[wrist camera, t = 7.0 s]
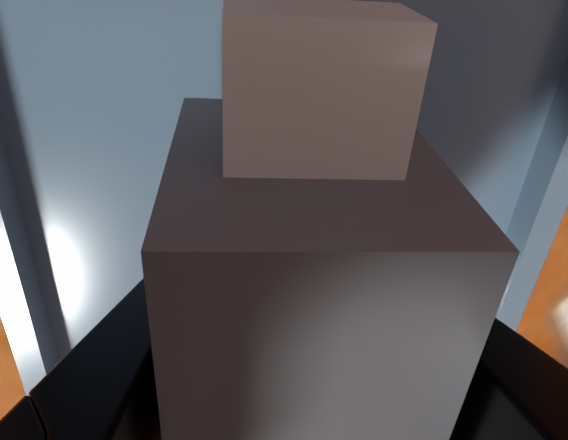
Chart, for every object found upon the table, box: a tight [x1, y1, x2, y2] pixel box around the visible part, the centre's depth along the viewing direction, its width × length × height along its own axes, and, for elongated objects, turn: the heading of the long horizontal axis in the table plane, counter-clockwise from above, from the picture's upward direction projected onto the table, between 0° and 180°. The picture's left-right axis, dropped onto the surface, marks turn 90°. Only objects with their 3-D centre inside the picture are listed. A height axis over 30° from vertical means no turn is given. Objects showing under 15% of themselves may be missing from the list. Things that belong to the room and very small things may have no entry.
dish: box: [0, 0, 568, 396], centre depth 11 cm, size 12×12×1 cm
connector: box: [141, 0, 520, 440], centre depth 7 cm, size 7×4×4 cm, turn 177°
